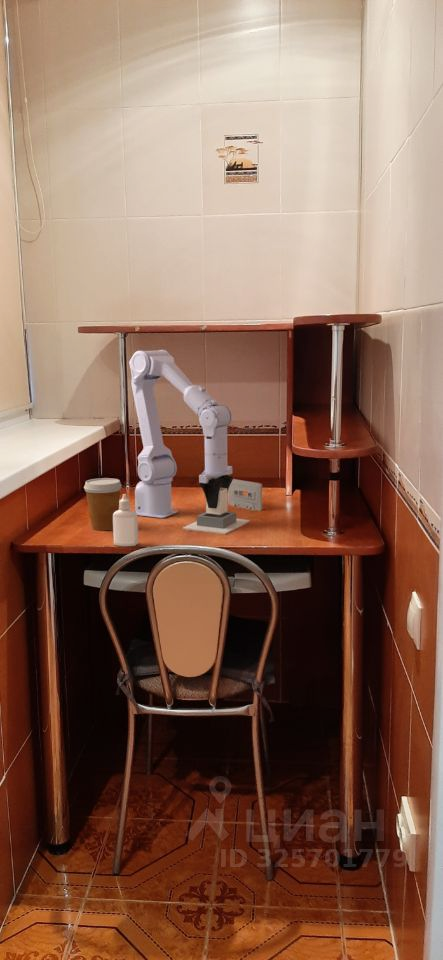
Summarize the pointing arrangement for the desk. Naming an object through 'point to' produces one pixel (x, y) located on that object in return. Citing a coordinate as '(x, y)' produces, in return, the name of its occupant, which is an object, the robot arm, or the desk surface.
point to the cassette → (245, 501)
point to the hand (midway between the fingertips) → (216, 506)
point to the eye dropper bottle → (125, 524)
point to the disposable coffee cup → (102, 501)
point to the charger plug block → (219, 503)
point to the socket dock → (216, 523)
